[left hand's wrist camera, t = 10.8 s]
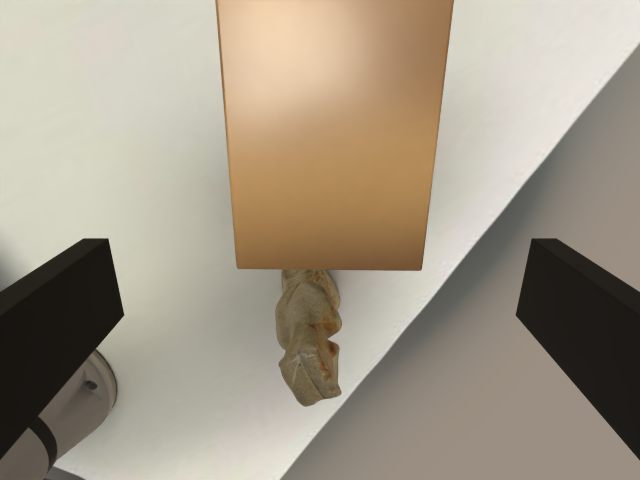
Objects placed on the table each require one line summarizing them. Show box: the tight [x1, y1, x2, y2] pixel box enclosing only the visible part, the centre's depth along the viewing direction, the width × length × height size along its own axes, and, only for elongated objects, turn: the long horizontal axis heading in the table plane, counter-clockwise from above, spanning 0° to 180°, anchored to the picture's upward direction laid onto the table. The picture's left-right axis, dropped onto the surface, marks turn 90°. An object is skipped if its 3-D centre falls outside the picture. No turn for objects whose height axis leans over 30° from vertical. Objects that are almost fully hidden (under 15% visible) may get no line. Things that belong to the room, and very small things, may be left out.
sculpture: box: [276, 269, 342, 406], centre depth 35 cm, size 6×7×15 cm
